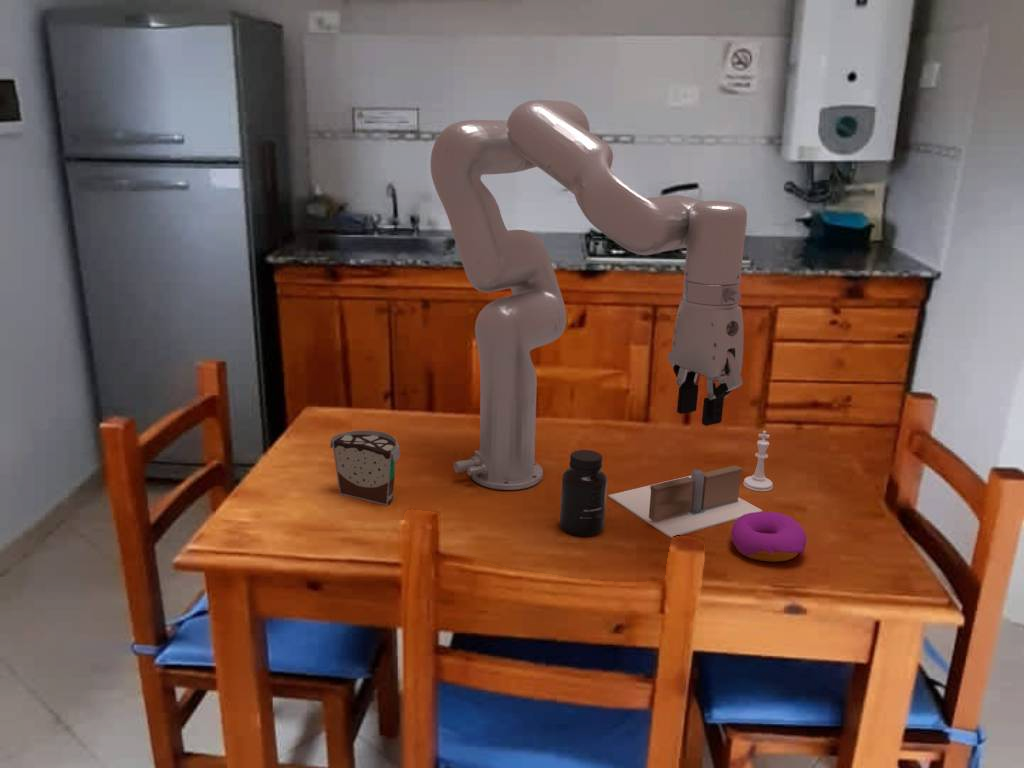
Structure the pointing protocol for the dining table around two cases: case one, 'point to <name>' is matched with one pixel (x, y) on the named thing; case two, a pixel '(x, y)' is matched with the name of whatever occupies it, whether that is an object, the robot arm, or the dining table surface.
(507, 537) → the dining table surface
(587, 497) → the supplement bottle
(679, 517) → the fence base
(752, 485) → the chess piece
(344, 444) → the food container
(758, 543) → the donut
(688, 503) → the fence panel
